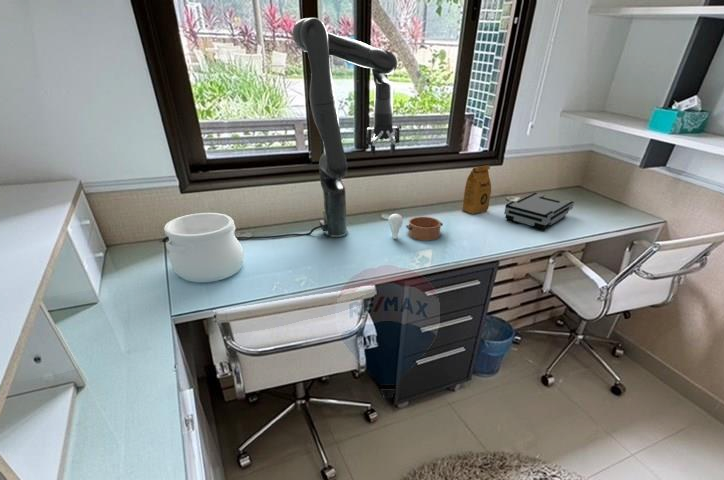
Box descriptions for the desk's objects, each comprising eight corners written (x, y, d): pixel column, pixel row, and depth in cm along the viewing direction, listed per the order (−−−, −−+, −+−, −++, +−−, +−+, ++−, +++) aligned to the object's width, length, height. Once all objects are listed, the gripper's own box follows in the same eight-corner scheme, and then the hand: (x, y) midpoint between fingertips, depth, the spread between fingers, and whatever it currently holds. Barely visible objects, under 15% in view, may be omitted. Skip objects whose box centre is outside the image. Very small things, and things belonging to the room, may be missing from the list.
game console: (570, 215, 204) (575, 199, 199) (543, 233, 185) (547, 215, 180) (531, 206, 215) (535, 190, 210) (502, 221, 196) (505, 204, 191)
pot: (203, 294, 134) (188, 244, 124) (158, 274, 144) (141, 227, 134) (261, 265, 152) (253, 219, 142) (218, 249, 162) (207, 206, 152)
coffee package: (490, 212, 206) (498, 167, 193) (472, 216, 200) (479, 170, 187) (477, 206, 212) (484, 162, 199) (459, 210, 207) (465, 165, 194)
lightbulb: (392, 242, 172) (392, 217, 165) (385, 237, 176) (385, 212, 170) (404, 240, 174) (405, 215, 168) (397, 235, 179) (398, 210, 172)
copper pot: (414, 242, 172) (414, 230, 169) (400, 230, 183) (401, 219, 179) (447, 237, 178) (448, 225, 174) (433, 226, 188) (434, 214, 185)
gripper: (395, 109, 169) (394, 151, 178) (363, 110, 164) (364, 153, 173) (403, 112, 163) (401, 155, 172) (370, 113, 158) (370, 157, 168)
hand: (382, 154), depth 173 cm, fingers open, 8 cm apart
